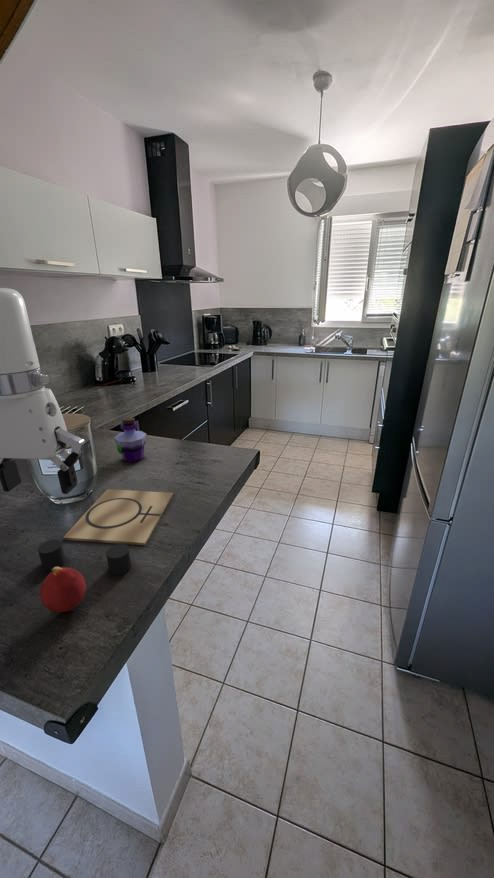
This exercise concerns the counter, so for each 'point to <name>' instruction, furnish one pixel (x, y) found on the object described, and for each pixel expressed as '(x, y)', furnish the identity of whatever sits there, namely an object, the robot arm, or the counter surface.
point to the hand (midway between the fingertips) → (41, 488)
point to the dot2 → (118, 559)
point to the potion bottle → (130, 441)
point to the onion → (62, 589)
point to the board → (121, 517)
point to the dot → (51, 554)
